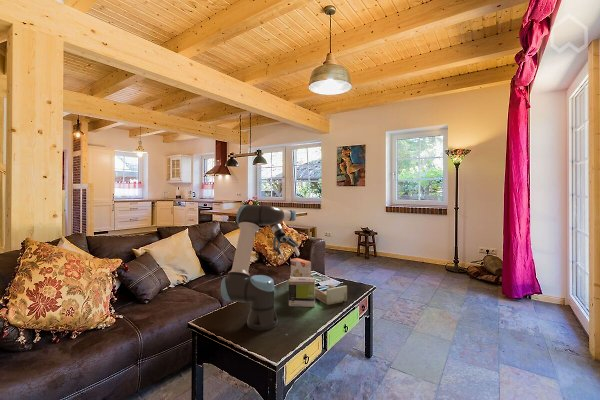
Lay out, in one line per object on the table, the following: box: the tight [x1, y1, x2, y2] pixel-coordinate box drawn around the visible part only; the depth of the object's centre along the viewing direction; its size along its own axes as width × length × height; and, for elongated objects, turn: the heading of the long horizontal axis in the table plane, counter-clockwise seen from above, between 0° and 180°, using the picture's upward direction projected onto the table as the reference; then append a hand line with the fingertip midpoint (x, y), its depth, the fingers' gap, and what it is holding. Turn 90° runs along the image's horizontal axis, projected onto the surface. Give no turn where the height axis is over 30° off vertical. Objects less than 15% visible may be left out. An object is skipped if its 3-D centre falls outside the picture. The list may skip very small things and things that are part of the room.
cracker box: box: [290, 257, 312, 277], centre depth 193 cm, size 14×6×21 cm, turn 43°
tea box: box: [288, 276, 316, 308], centre depth 173 cm, size 15×10×15 cm, turn 84°
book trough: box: [315, 283, 348, 306], centre depth 182 cm, size 14×17×9 cm
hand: (290, 256), depth 201 cm, fingers open, 13 cm apart
